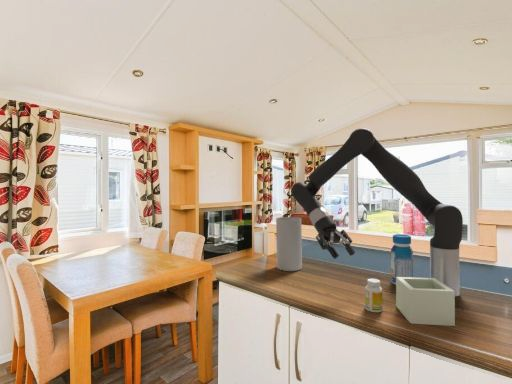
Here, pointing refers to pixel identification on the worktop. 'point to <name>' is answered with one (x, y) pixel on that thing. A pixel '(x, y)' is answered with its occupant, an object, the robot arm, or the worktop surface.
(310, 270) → the worktop surface
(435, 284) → the open box
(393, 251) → the beverage bottle
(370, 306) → the supplement bottle
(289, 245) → the cylinder vase
